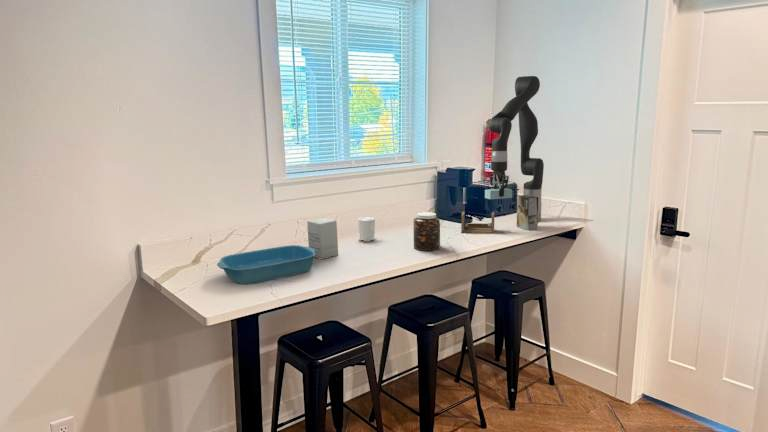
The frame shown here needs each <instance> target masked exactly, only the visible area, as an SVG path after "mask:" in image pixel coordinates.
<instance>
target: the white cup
mask: <svg viewBox="0 0 768 432" xmlns="http://www.w3.org/2000/svg"><path fill="white" fill-rule="evenodd" d="M357 222H358V234H359V241H361V240H364V241H363V242H370V241H369V240H373V241H374V240H375V235H376V234H375V232H376V231H375V230H376V218H375V217H371V216H370V217H366V216H365V217H364V216H363V217H358V218H357Z"/></svg>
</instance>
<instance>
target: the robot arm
mask: <svg viewBox="0 0 768 432" xmlns="http://www.w3.org/2000/svg"><path fill="white" fill-rule="evenodd" d="M540 86H541V82H540V79H539V77H538V76H536V75H528V76H527V75H525V76H518V77H517V78H516V79H515V83H514V92H515V96H514V97H513V98H511V99H510V100H509V101H507V103H506V104H505V105H504V107H503V108H502V109H501V111H499V112H497V113H496V114H495V115H493V116H492V117H491V119H490V120H489V122H488V130H489V131H490V132H491V133H494V134H500V135H499V137H496V138H493V139H492V141H491V159H490V161H491V162H490V171H492V173H489V182H490V183H489V185H490V186H492V189H499V196H500V197H503V196H504V189H505V188H508V184H509V178H510V177H509V175H506V171H508V141H509V137H510V134H511V132H512V125H513V124H512V121H513V120H514V119H515V118H516V116H518V128H519V140H520V141H519V142H520V171H521V172H520V173H521V174H522V175H524V176H529V177H530V176H531V177H532V176H533V178H532V180H530V181H526V182H524V183H523V191H522V193H523V195H529V196H534V197H538V222H541V220H542V191H543V190H542V187H543V186H542V185H543V179H544V165H545V164H544V160H543V159H542V158H539V157H538V158H536V157H530V156H531V155H530V152H531V148H532V146H533V144H534V143H535V140H536V139H537V136H538V135H539V134H538V133H539V126H538V123H539V122H538V118H537V116H536V115H535V113H534V112H533V110H532V109H531V108H530V106H529V104H528V102H530V100H531V99H533V98H534V96H535V95H536V94H538V92H539V90H540Z"/></svg>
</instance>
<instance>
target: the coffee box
mask: <svg viewBox="0 0 768 432" xmlns="http://www.w3.org/2000/svg"><path fill="white" fill-rule="evenodd" d="M516 203H517V204H516V228H519V229H522V230H525V231H526V230H527V231H533V230H538V227H539V226H538V224H539V223H538V222H539V221H538V197H534V196H529V195H517V197H516Z"/></svg>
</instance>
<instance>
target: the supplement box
mask: <svg viewBox="0 0 768 432" xmlns="http://www.w3.org/2000/svg"><path fill="white" fill-rule="evenodd" d="M306 222H307V224H306V225H307V236H308V237H307V239H308V241H307V242H308V247H311V248H313V249H315V252H314V253H315V256H314V258H315V257H316V259H319V258H320V259H319V260H324V258H325V259H327V258H328V257H329V258H332V257H331V256H333V257H336V256H338V255H339V245H338V244H339V243H338V240H339V239H338V223H337V220H335V219H330V218H325V217H323V218H317V219H313V220H307V221H306ZM329 258H328V259H329Z"/></svg>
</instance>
